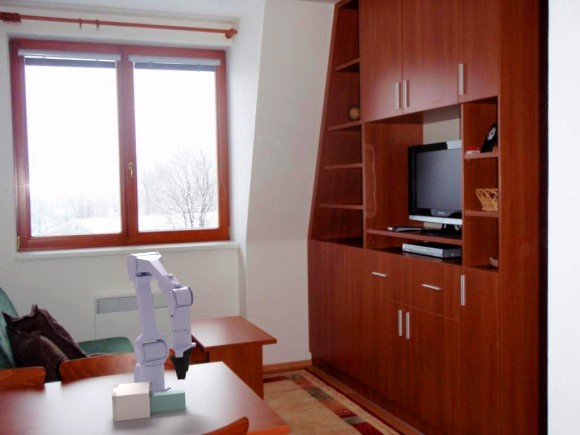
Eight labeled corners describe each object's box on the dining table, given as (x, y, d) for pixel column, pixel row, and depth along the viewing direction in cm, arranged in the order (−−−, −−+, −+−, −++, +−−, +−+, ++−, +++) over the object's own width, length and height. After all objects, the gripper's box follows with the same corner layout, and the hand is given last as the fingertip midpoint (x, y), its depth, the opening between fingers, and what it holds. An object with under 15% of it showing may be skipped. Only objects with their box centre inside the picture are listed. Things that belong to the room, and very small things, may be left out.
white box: (113, 421, 176) (111, 396, 176) (115, 408, 187) (114, 384, 187) (153, 417, 178) (152, 392, 178) (153, 404, 189) (152, 381, 189)
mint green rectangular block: (128, 415, 181) (128, 398, 180) (129, 412, 184) (128, 395, 183) (185, 409, 184) (185, 392, 184) (185, 406, 187) (184, 389, 187)
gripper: (192, 334, 177) (194, 382, 178) (197, 323, 192) (199, 367, 192) (167, 335, 177) (169, 383, 178) (173, 324, 191) (175, 368, 192)
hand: (183, 375), depth 185 cm, fingers open, 7 cm apart
